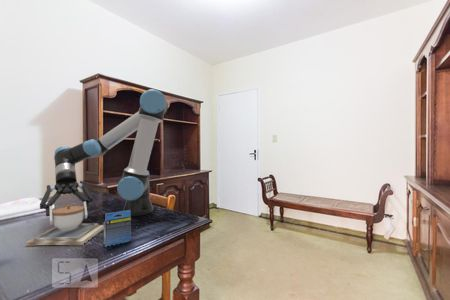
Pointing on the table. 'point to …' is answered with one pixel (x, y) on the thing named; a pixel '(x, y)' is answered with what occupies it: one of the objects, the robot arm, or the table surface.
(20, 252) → the table surface
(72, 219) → the lidded jar
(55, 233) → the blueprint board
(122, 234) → the label tape box
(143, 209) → the robot arm
